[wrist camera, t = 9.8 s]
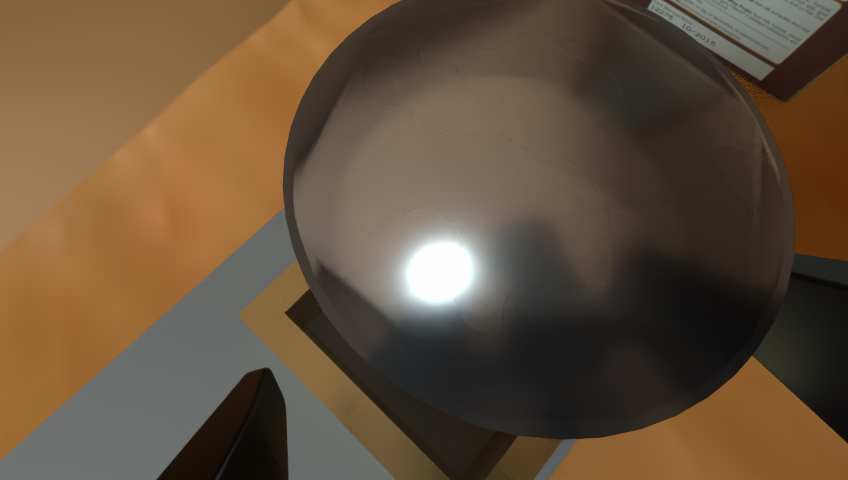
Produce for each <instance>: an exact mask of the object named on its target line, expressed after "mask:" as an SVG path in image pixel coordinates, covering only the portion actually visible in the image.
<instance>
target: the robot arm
mask: <svg viewBox="0 0 848 480" xmlns="http://www.w3.org/2000/svg"><path fill="white" fill-rule="evenodd" d="M753 356H754V357H755V358H756V359H757V360H758V361H759V362H760V363H761V364H762V365H763V366H764V367H766V368H767V369H768V370H769V371H770V372H771V373H772V374H773V375H774V376H775V377H776V378H777V379H779V380H780V381H781V382H782V383H783V384H784V385H785V386H786V387H787V388H788V389H789V390H790V391H792V392H793V393H794V394H795V395H796V396H797V397H798V398H799V399H800V400H801V401H802V402H803V403H805V404H806V405H807V406H808V407H809V408H810V409H811V410H812V411H813V412H814V413H815V414H816V415H818V416H819V417H820V418H821V419H822V420H823V421H824V422H825V423H826V424H827V425H828V426H829V427H831V428H832V429H833V430H834V431H835V432H836V433H837V434H838V435H839V436H840V437H841V438H842V439H844V440H845V441H846V442H847V443H848V261H841V260H835V259H828V258H822V257H815V256H808V255H802V254H795V253H794V260H793V265H792V270H791V274H790V278H789V283H788V287H787V292H786V294H785V297H784V299H783V302H782V304H781V306H780V309H779V311H778V314H777V316H776V319H775V321H774V323H773V325H772V326H771V328H770V330H769V331H768V333H767V334H766V336H765V338H764V339H763V341H762V343H761V344H760V346H759V347H758V349H757V350H756V352H755V353H754V354H753ZM156 480H289V469H288V442H287V414H286V404H285V400H284V397H283V395H282V392H281V390H280V388H279V386H278V383H277V381H276V379H275V377H274V374H273V372H272V371H271V369H270V368H267V367H264V368H261V369H257V370H254V371H250V372H248V373H246V374H245V375H244V376H243V377H242V379H241V380H240V381H239V382H238V383H237V385H236V386H235V387H234V388H233V389H232V390H231V392H230V393H229V394H228V395H227V396H226V398H225V399H224V400H223V401H222V402H221V403H220V405H219V406H218V407H217V408H216V409H215V411H214V412H213V413H212V414H211V415H210V416H209V418H208V419H207V420H206V421H205V422H204V424H203V425H202V426H201V427H200V428H199V429H198V431H197V432H196V433H195V434H194V435H193V437H192V438H191V439H190V440H189V441H188V442H187V444H186V445H185V446H184V447H183V448H182V450H181V451H180V452H179V453H178V454H177V455H176V457H175V458H174V459H173V460H172V461H171V463H170V464H169V465H168V466H167V467H166V468H165V470H164V471H163V472H162V473H161V474H160V476H159V477H158V478H157V479H156Z"/></svg>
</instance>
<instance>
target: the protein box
mask: <svg viewBox="0 0 848 480" xmlns="http://www.w3.org/2000/svg"><path fill="white" fill-rule="evenodd" d="M630 1H632V2H634V3H636V4H638V5H640V6H642V7H644V8H646V9H648V10H650V11H652V12H654V13H656V14H658V15H660V16H661V17H663V18H664V19H666V20H668V21H669V22H671V23H672V24H674V25H676V26H677V27H679V28H680V29H682V30H683V31H685V32H686V33H687V34H688V35H690V36H691V37H692V38H694V39H695V40H696V41H697V42H699V43H700V44H701V45H703V46H704V47H705V48H706V49H707V50H708V51H709V52H710V53H712V54H713V55H714V56H715V57H716V58H717V59H718V60H719V61H720V62H721V63H723V64H725V65H726V66H728V67H730V68H731V69H733V70H735V71H736V72H737V73H739V74H740V75H742V76H744V77H746V78H747V79H749V80H750V81H752V82H754V83H756V84H757V85H759V86H760V87H762V88H764V89H765V90H767V91H768V92H770V93H772V94H774V95H775V96H777V97H778V98H780V99H781V100H783V101H789V100H791V99H792V98H793V97H795V96H796V95H797V94H799V93H800V92H801V91H802V90H804V89H805V88H806V87H807V86H809V85H810V84H811V83H812V82H814V81H815V80H816V79H818V78H819V77H820V76H821V75H823V74H824V73H825V72H826V71H828V70H829V69H830V68H832V67H833V66H834V65H835V64H837V63H838V62H839V61H840V60H842V59H843V58H844V57H846V56H847V55H848V0H630Z"/></svg>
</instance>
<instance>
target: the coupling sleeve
mask: <svg viewBox="0 0 848 480" xmlns="http://www.w3.org/2000/svg"><path fill="white" fill-rule="evenodd" d="M283 194H284V206H285V217H286V222H287V226H288V230H289V234H290V239H291V243H292V247H293V250H294V253H295V255H296V258H297V261H298V263H299V266H300V268H301V271H302V273H303V276H304V278H305V281H306V283H307V284H308V286H309V288H310V290H311V291H312V293H313V295H314V297H315V298H316V300H317V302H318V304H319V305H320V307H321V309H322V311H323V312H324V314H325V315H326V316H327V317H328V319H329V320H330V321H331V323H332V324H333V325H334V327H335V328H336V329H337V330H338V332H339V333H340V334H341V336H342V337H343V338H344V339H345V341H346V342H347V343H348V344H349V345H350V346H351V347H352V348H353V349H354V350H355V351H356V352H357V353H358V354H359V355H360V356H361V357H362V358H363V359H365V360H366V361H367V362H368V363H369V364H370V365H371V366H372V367H373V368H374V369H375V370H376V371H378V372H379V373H380V374H382V375H383V376H384V377H386V378H387V379H388V380H390V381H391V382H393V383H394V384H395V385H397V386H398V387H399V388H401V389H402V390H403V391H405V392H406V393H408V394H410V395H411V396H413V397H415V398H417V399H419V400H421V401H422V402H424V403H426V404H428V405H430V406H432V407H433V408H435V409H437V410H439V411H441V412H443V413H445V414H448V415H451V416H453V417H456V418H458V419H461V420H464V421H466V422H469V423H472V424H474V425H477V426H479V427H483V428H487V429H492V430H496V431H500V432H505V433H509V434H513V435H518V436H524V437H536V438H547V439H559V440H566V439H583V438H600V437H606V436H611V435H616V434H620V433H625V432H630V431H635V430H639V429H642V428H645V427H648V426H650V425H653V424H656V423H658V422H661V421H663V420H666V419H669V418H671V417H674V416H676V415H678V414H680V413H682V412H683V411H685V410H687V409H689V408H690V407H692V406H694V405H695V404H697V403H699V402H701V401H702V400H704V399H706V398H708V397H709V396H710V395H711V394H712V393H714V392H715V391H716V390H717V389H719V388H720V387H721V386H722V385H723V384H725V383H726V382H727V381H728V380H730V379H731V378H732V377H733V376H734V375H735V374H736V373H737V372H738V371H739V370H740V369H741V368H742V366H743V365H744V364H745V363H746V362H747V361H748V360H749V358H750V357H751V356H752V355H753V354H754V353H755V352H756V350H757V349H758V347H759V346H760V344H761V343H762V341H763V339H764V338H765V336H766V334H767V333H768V331H769V330H770V328H771V326H772V325H773V323H774V321H775V319H776V316H777V314H778V311H779V309H780V306H781V304H782V302H783V299H784V297H785V294H786V292H787V287H788V283H789V278H790V274H791V270H792V265H793V260H794V245H795V218H794V205H793V197H792V193H791V188H790V184H789V179H788V175H787V170H786V167H785V165H784V162H783V159H782V157H781V154H780V151H779V148H778V146H777V143H776V141H775V139H774V137H773V135H772V133H771V131H770V129H769V127H768V125H767V123H766V121H765V119H764V117H763V115H762V114H761V112H760V111H759V109H758V108H757V106H756V105H755V103H754V102H753V100H752V99H751V98H750V96H749V95H748V93H747V92H746V90H745V89H744V88H743V87H742V85H741V84H740V83H739V82H738V81H737V80H736V78H735V77H734V76H733V75H732V74H731V72H730V71H729V70H728V69H727V68H726V67H725V66H724V65H723V64H722V63H721V62H720V61H719V60H718V59H717V58H716V57H715V56H714V55H713V54H712V53H710V52H709V51H708V50H707V49H706V48H705V47H704V46H703V45H701V44H700V43H699V42H697V41H696V40H695V39H694V38H692V37H691V36H690V35H688V34H687V33H686V32H685V31H683V30H682V29H680V28H679V27H677V26H676V25H674V24H672V23H671V22H669V21H668V20H666V19H664V18H663V17H661V16H660V15H658V14H656V13H654V12H652V11H650V10H648V9H646V8H644V7H642V6H640V5H638V4H636V3H634V2H632V1H630V0H402V1H399V2H397V3H395V4H393V5H391V6H390V7H388V8H386V9H385V10H383V11H381V12H380V13H378V14H377V15H375V16H373V17H372V18H370V19H369V20H367V21H366V22H365V23H364V24H362V25H361V26H360V27H359V28H357V29H356V30H355V31H354V32H352V33H351V34H350V35H349V36H348V37H347V38H346V39H345V40H344V41H343V42H342V43H341V44H340V45H339V46H338V47H337V48H336V49H335V50H334V51H333V52H332V53H331V54H330V55H329V57H328V58H327V59H326V61H325V62H324V64H323V65H322V66H321V68H320V69H319V70H318V72H317V73H316V74H315V76H314V77H313V79H312V81H311V83H310V85H309V86H308V88H307V90H306V92H305V94H304V96H303V97H302V99H301V101H300V104H299V107H298V109H297V112H296V115H295V117H294V120H293V123H292V125H291V129H290V133H289V138H288V143H287V147H286V152H285V159H284V175H283Z"/></svg>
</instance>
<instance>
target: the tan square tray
mask: <svg viewBox="0 0 848 480" xmlns="http://www.w3.org/2000/svg"><path fill="white" fill-rule="evenodd" d="M321 312H322V309H321V307H320V305H319V304H318V302H317V300H316V298H315V297H314V295H313V293H312V291H311V290H310V288H309V286H308V284H307V283H306V281H305V278H304V276H303V273H302V271H301V268H300V266H299V263H298V261H297V260H296V261H294V262H293V263H292V264H291V265H290V266H289V267H288V268H287V269H286V270H285V271H284V272H283V273H282V274H281V275H280V276H279V277H277V278H276V279H275V280H274V281H273V282H272V283H271V284H270V285H269V286H268V287H267V288H266V289H265V290H264V291H263V292H262V293H260V294H259V295H258V296H257V297H256V298H255V299H254V300H253V301H252V302H251V303H250V304H249V305H248V306H247V307H246V308H245V309H243V310H242V311H241V312H240V313H239V314H238V316H239V317H240V318H241V319H242V320H243V321H244V322H245V323H246V324H247V325H248V326H249V327H250V328H251V329H252V330H253V332H254V333H255V334H256V335H257V336H258V337H259V338H260V339H261V340H262V341H263V342H264V343H265V344H266V345H267V346H268V347H269V348H270V349H271V350H272V351H273V352H274V353H275V354H276V355H277V357H278V358H279V359H280V360H281V361H282V362H283V363H284V364H285V365H286V366H287V367H288V368H289V369H290V370H291V371H292V372H293V373H294V374H295V375H296V376H297V377H298V378H299V379H300V380H301V382H302V383H303V384H304V385H305V386H306V387H307V388H308V389H309V390H310V391H311V392H312V393H313V394H314V395H315V396H316V397H317V398H318V399H319V400H320V401H321V402H322V403H323V404H324V405H325V406H326V408H327V409H328V410H329V411H330V412H331V413H332V414H333V415H334V416H335V417H336V418H337V419H338V420H339V421H340V422H341V423H342V424H343V425H344V426H345V427H346V428H347V429H348V430H349V431H350V433H351V434H352V435H353V436H354V437H355V438H356V439H357V440H358V441H359V442H360V443H361V444H362V445H363V446H364V447H365V448H366V449H367V450H368V451H369V452H370V453H371V454H372V455H373V456H374V457H375V459H376V460H377V461H378V462H379V463H380V464H381V465H382V466H383V467H384V468H385V469H386V470H387V471H388V472H389V473H390V474H391V475H392V476H393V477H394V478H395V479H396V480H534V479H535V477H536V476H537V475H538V473H539V472H540V471H541V469H542V468H543V466H544V465H545V464H546V462H547V461H548V460H549V458H550V457H551V455H552V454H553V453H554V451H555V450H556V449H557V447H558V446H559V444H560V443H561V442H562V440H559V439H547V438H536V437H524V436H518V435H513V434H509V433H505V432H500V431H496V432H495V434H494V435H493V436H492V437H491V439H490V440H489V441H488V442H487V444H486V445H485V446H484V448H483V449H482V450H481V451H480V453H479V454H478V455H477V457H476V458H475V459H474V460H473V462H472V463H471V464H470V466H469V467H468V468H467V469H466V471H465V472H464V473H463V475H462V476H461V477H460V478H458V477H457V476H456V475H455V474H454V473H453V472H452V471H451V470H450V469H449V468H448V467H447V466H446V465H445V464H444V463H443V462H442V461H441V460H440V459H439V458H438V457H437V456H436V455H435V454H434V453H433V452H432V451H431V450H430V449H429V448H428V447H427V446H426V445H425V444H424V443H423V442H422V441H421V440H420V439H419V438H418V437H417V436H416V435H415V434H414V433H413V432H412V431H411V430H410V429H409V428H408V427H407V426H406V425H405V424H404V423H403V422H402V421H401V420H400V419H399V418H398V417H397V416H396V415H395V414H394V413H393V412H392V411H391V410H390V409H389V408H388V407H387V406H386V405H385V404H384V403H383V402H382V401H381V400H380V399H379V398H378V397H377V396H376V395H375V394H374V393H373V392H372V391H371V390H370V389H369V388H368V387H367V386H366V385H365V384H364V383H363V382H362V381H361V380H360V379H359V378H358V377H357V376H356V375H355V374H354V373H353V372H352V371H351V370H350V369H349V368H348V367H347V366H346V365H345V364H344V363H343V362H342V361H341V360H340V359H339V358H338V357H337V356H336V355H335V354H334V353H333V352H332V351H331V350H330V349H329V348H328V347H327V346H326V345H325V344H324V343H323V342H322V341H321V340H320V339H319V338H318V337H317V336H316V335H315V334H314V333H313V332H312V331H311V330H310V329H309V328H308V327H307V326H308V325H309V324H310V323H311V322H312V321H313V320H314V319H315V318H316V317H317V316H318V315H319V314H320V313H321Z"/></svg>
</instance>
